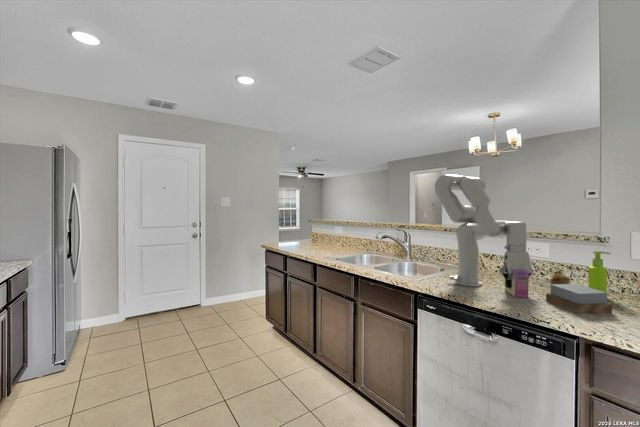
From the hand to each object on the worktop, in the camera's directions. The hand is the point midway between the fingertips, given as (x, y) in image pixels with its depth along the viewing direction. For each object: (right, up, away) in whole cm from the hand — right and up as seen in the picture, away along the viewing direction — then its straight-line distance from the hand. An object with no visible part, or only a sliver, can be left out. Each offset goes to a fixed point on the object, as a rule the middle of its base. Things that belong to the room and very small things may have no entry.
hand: (516, 287), depth 135 cm
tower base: (+13, -4, -18) cm, 22 cm away
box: (0, -3, 0) cm, 3 cm away
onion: (+28, -3, +10) cm, 30 cm away
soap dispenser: (+32, -3, -6) cm, 33 cm away
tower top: (+12, 0, -18) cm, 22 cm away
